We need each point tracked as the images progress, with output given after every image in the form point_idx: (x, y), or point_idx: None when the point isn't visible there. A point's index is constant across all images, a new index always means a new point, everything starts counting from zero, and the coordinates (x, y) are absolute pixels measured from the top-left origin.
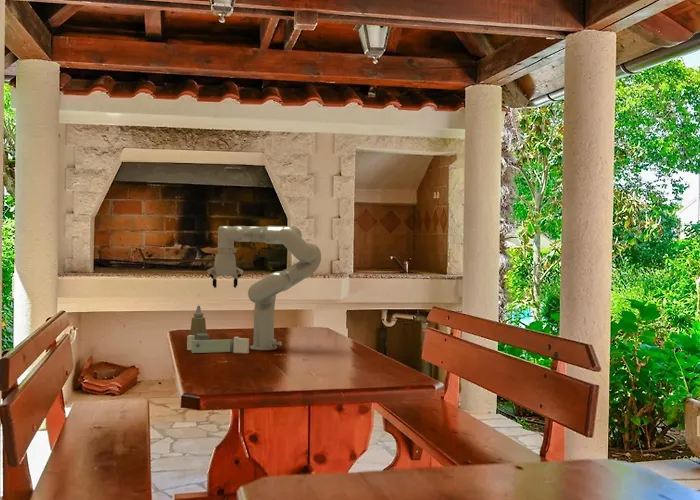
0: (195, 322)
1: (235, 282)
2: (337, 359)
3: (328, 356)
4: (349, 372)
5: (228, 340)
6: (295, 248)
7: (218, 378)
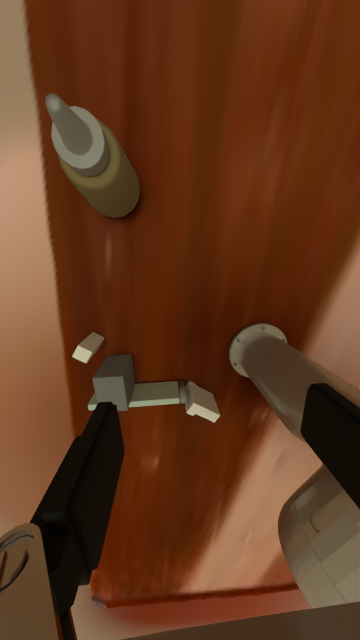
0: (83, 192)
1: (347, 488)
2: None
3: None
4: None
5: (174, 402)
6: None
7: (131, 552)
